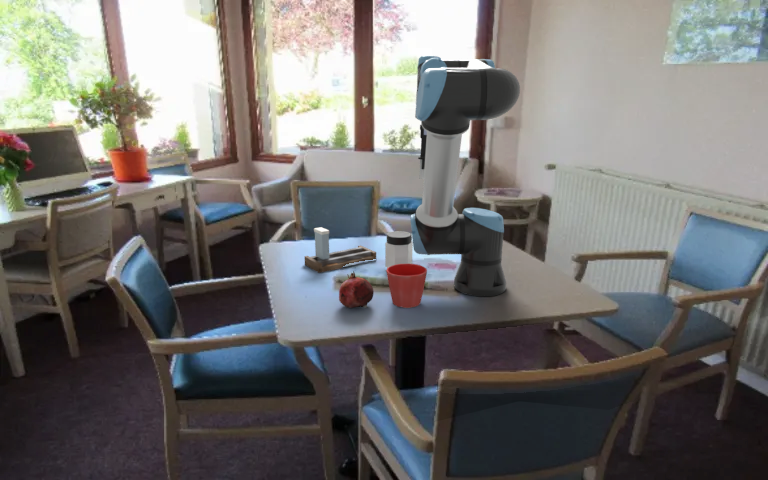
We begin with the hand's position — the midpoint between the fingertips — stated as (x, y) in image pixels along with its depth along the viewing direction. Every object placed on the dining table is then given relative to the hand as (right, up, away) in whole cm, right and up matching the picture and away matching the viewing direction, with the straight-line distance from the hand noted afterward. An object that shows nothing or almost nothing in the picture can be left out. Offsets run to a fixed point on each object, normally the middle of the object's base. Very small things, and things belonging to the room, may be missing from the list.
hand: (423, 178), depth 167 cm
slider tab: (-34, -28, -2) cm, 44 cm away
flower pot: (-7, -38, -31) cm, 50 cm away
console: (-28, -28, +2) cm, 40 cm away
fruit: (-21, -39, -33) cm, 55 cm away
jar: (-8, -31, -4) cm, 32 cm away
